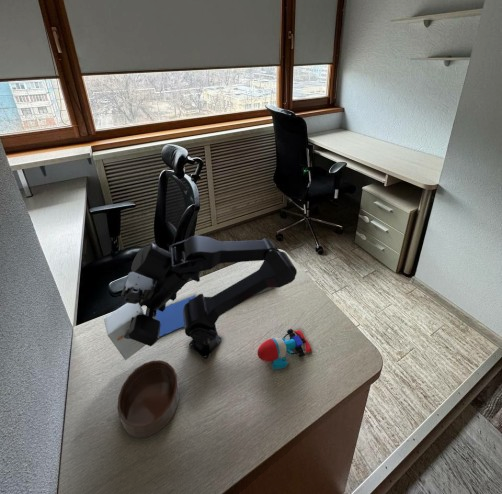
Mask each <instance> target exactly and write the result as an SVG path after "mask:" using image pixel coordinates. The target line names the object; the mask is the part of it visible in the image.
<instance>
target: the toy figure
mask: <svg viewBox="0 0 502 494" xmlns="http://www.w3.org/2000/svg"><path fill="white" fill-rule="evenodd" d="M287 336H289V339H287V340H286V337H287ZM303 344H304V347H305V348H304V349H305V350H304V349H303ZM293 349H295V350H296V351H295V352H293V351H292V350H293ZM312 351H313V349H312V347H311V344H310V342H309V340H308V339H307V338H306V337H305V335H304V333H303V331H301V330H293V328H290V329H288V330H286V333H285V335H284V336H283V337H282V338H280V337H271V338H268V339H266V340H265V341H263V342H262V343H261V344H259V346H258V348H257V357H258V358H259V359H260V360H261V361H263V362H266V363H271V362H272V364H271V367H272V369H273V370H274V371H275V370H280V369H285V368H286V367H287V365H288V363H289V361H287V360H286V359H287V357H285V356H286V354H288V355H289V356H294V355H298V356H299V357H300V358H302V357H304V356H306V354H307V353H310V352H312Z"/></svg>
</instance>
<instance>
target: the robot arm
mask: <svg viewBox="0 0 502 494" xmlns="http://www.w3.org/2000/svg"><path fill="white" fill-rule="evenodd" d="M168 246H169V247H168V249H169V250H166V249H164V248H163V247H162V248H161V247H159V246H158V245H157V244H156V243H153V242H152V243H150V245H145V246H143V247H141V248H140V249H139V251H138V252H137V253H136V255H135V257H134V258H133V261H132V264H131V271H130V272H128V273H127V276H126V279H125V282H124V285H123V288H122V291H121V294H120V295H121V298H123V299H124V302H125V304H126V303H132V304H137V303H138V302H139V304H140V306H141V308H142V307H146V309H145V315H144V314H140V315H137V316H136V317H135V318H134V317H132V320H131V324H130V329H129V330H128V331H127V333H126V334H125V336H124V338H126V339H133V340H135V341H138V342H140V343H143V344H146V345H145V346H148V347H152V346H154V345H155V344H156V343H157V342H158V341H159V340H160V337H159V334H160V327H161V324H160V321H158V320H156V313H157V310H159V311H162V312H163V311H164V310H165V307H166V305H167V303H168V302H170V300H171V301H173V302H174V301H176V299H177V295H178V292H179V291H180V290H181V289H182V288H183V287H184V286H185V285H186V284H187V283H188V282H190V280H192V281H195V282H196V283H199V282H200V281H201V277H200V273H201V272H205V271H209V270H212V269H214V268H215V267H216V266H218V265H220V264H229V263H232V264H233V263H246V262H259V261H263V262H262V263H261V265H260V267H259V268H258V270H256V271H254V272H252V273H250V274H249V275H247V276H246V277H244V278H242V279H240V280H238V281H237V282H235V283H234V284H231V285H230V286H228V287H227V288H224V289H223V290H221V291H219V292H218V293H216V294H214V295H213V296H204V294H203V293H199V294H198V295H195V298H193V299H190V300H188V301H189V302H188V303H186V304H185V305H184V308H183V319H184V327H183V328H184V334H185V336H187V337H190V339H192V340H191V341H190V342H189V344H188V346H189V347H190V348H191V349H192V350H194V351H195V352H196V353H197V354H198V355H200V357H202V358H203V359H205V360H207V359H208V358H209V357H210V355H211V354H212V353H213V351H215V350H216V348H217V346H218V345H219V344H220V343H221V341H222V337H221V336H220V335H219V334H218V331H217V325H216V323H217V321H218V320H219V318H220V317H221V316H222V315H225V314H226V313H227V312H229V311H230V310H233V309H234V308H236V307H237V306H239V305H241V304H242V303H244V302H246V301H247V300H248V299H251V298H253V297H255V296H256V294H257V293H259V292H261V291H262V290H264V289H266V288H268V287H273V288H272V289H274V288H276V289H277V288H278V289H279V288H282V287H284V286H286V285H287V286H288V285H289V284H291V283H292V282H294V281H295V279H296V276H297V273H298V271H297V268H296V267H295V265H294V264H293V262H292V261H291V259H290V257H289V256H288V254H287V253H286V252H285V251H281V250H279V248H278V247H277V246H276V245H275V244H274V243H273V241H272V240H270V239H268V238H263V239H261V240H233V241H232V240H230V241H229V240H228V241H220V240H217V239H214V238H212V237H210V236H203V235H192V236H190V237H189V238H187V239H184V240H182V241H178V242H176V243H173V244H170V245H168ZM181 253H182V255H183V259H181ZM259 294H260V293H259ZM257 295H258V294H257Z"/></svg>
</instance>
